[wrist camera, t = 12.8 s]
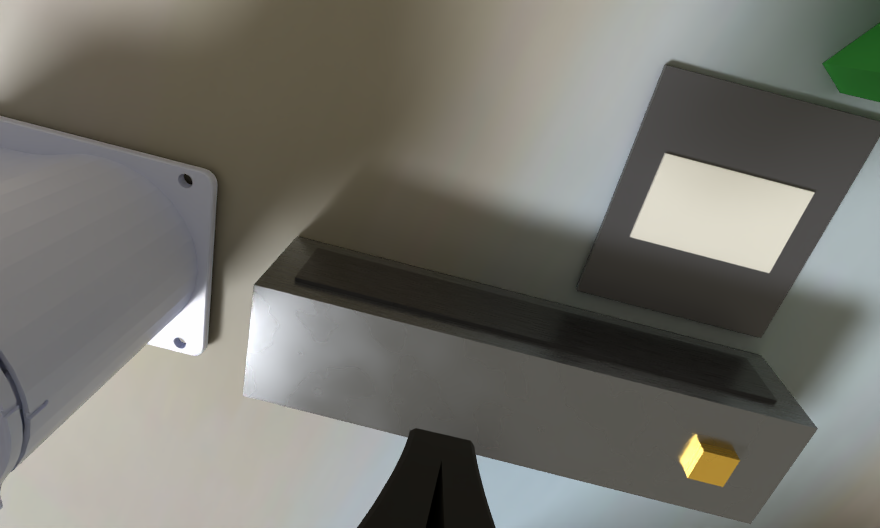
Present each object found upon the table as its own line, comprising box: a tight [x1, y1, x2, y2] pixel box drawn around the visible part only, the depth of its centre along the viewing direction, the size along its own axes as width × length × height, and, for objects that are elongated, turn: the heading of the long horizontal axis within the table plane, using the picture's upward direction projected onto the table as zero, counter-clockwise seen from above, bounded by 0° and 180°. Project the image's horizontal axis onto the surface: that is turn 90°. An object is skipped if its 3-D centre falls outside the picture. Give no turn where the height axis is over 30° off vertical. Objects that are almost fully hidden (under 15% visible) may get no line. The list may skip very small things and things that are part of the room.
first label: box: [577, 65, 880, 338], centre depth 18 cm, size 7×8×1 cm
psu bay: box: [243, 236, 818, 524], centre depth 19 cm, size 18×5×4 cm, turn 77°
